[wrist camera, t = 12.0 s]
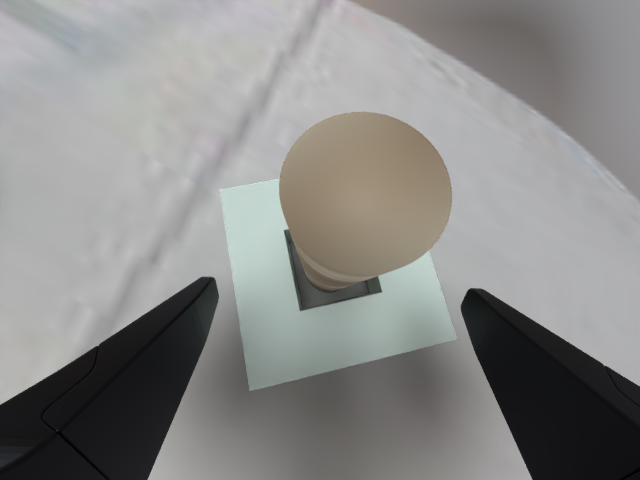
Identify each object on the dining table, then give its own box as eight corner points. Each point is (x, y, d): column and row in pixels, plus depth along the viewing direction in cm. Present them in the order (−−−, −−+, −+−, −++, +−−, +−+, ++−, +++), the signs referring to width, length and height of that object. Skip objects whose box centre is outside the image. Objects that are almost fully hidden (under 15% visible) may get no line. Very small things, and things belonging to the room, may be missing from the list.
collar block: (430, 331, 18) (457, 339, 15) (262, 373, 17) (249, 391, 14) (384, 179, 21) (398, 155, 17) (235, 208, 20) (219, 189, 16)
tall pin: (362, 263, 19) (483, 176, 5) (332, 302, 18) (386, 313, 5) (324, 234, 20) (349, 84, 6) (294, 270, 19) (242, 197, 5)
